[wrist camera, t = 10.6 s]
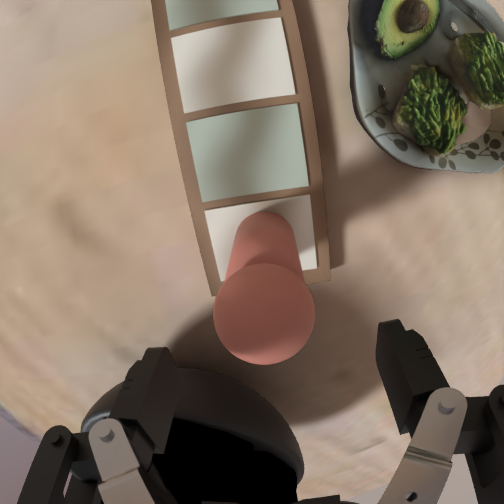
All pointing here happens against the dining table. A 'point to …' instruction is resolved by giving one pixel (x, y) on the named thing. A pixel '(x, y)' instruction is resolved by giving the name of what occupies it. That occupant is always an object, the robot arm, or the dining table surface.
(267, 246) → the pawn
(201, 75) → the board
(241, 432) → the coal bowl
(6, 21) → the dining table surface
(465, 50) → the salad plate
